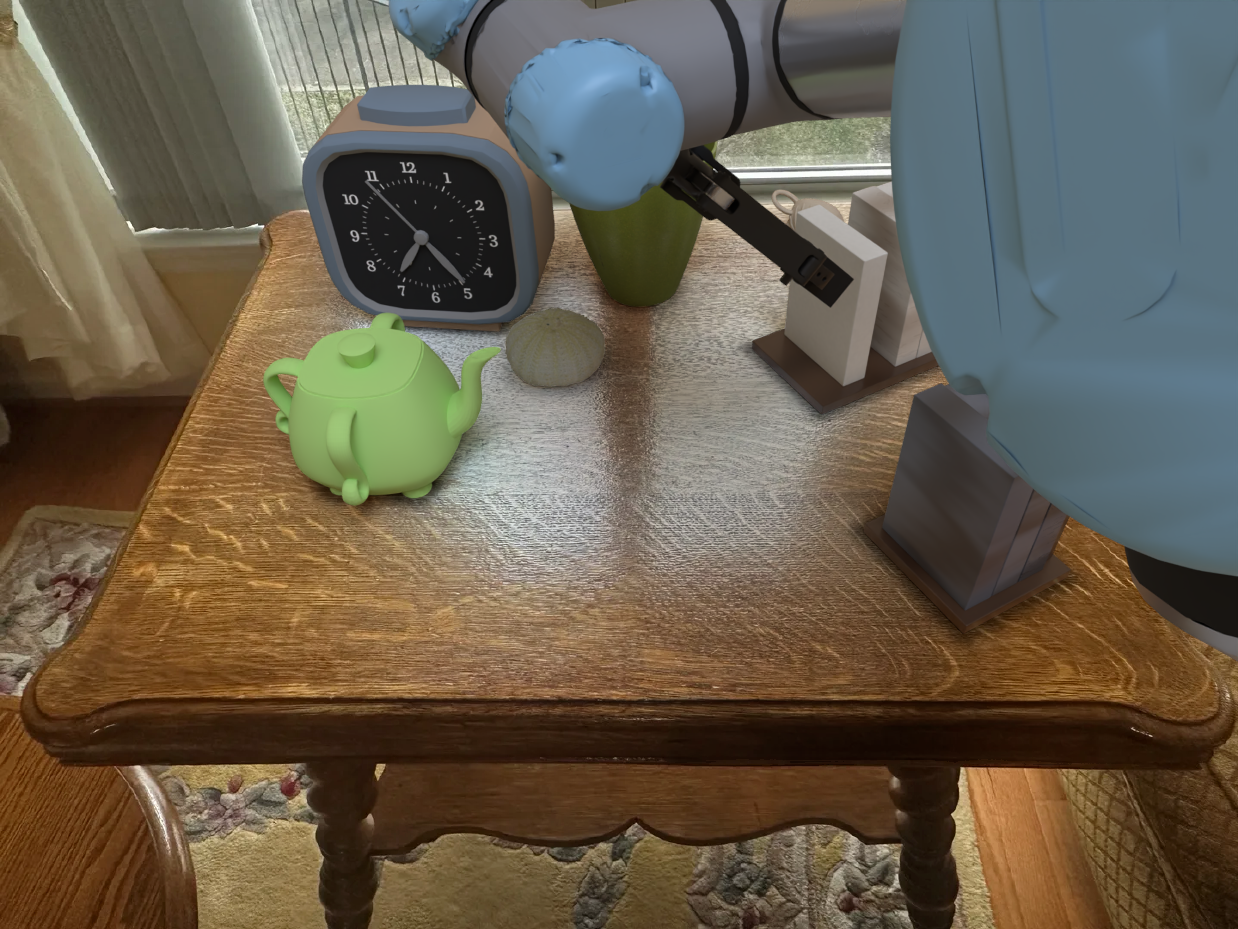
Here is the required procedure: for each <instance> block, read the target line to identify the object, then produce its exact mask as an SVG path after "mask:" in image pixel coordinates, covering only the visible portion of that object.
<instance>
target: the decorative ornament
mask: <svg viewBox="0 0 1238 929" xmlns="http://www.w3.org/2000/svg"><path fill="white" fill-rule="evenodd" d="M779 195H781V196H785V197H787V198H788V199H789V200H791V201H792V203H793V205H792V207H791V209H790V208H787V207H785V206H783V205H782V204H781V203H780V202H779V201H778V199H777V196H779ZM771 202H772V204H773V206H774V207H775V208H776V209H777V210H778V211H779V212H781V213H782V214H784V215H787V216H788V220H787V222H786V225H787V226H789V227H790V228H791V229H792V230H794V231H795V228H796V219H797V212H799V211H802V210H805V209H808V208H811V207H814V206H817V205H821V206H822V207H824V208H825V209H827V210H828V211H829V212H831V213H832V214H834V215H835V216H837V217H838V218H839V219H841V220H842V221H844V222H845V219H844V217H843V214H842V213H841V211H840V210H839V209H838V208H837V207H836V206H834V205H833V204H832V203H830V202H827V201H824V200H821V199H818V198H810V197H805V198H802V199H799V198H798V197H797V196H796V195H795V194H794V193H793V192H791V191H789V190H787V189H776V190H774V191H773V192H772V194H771Z"/></svg>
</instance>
